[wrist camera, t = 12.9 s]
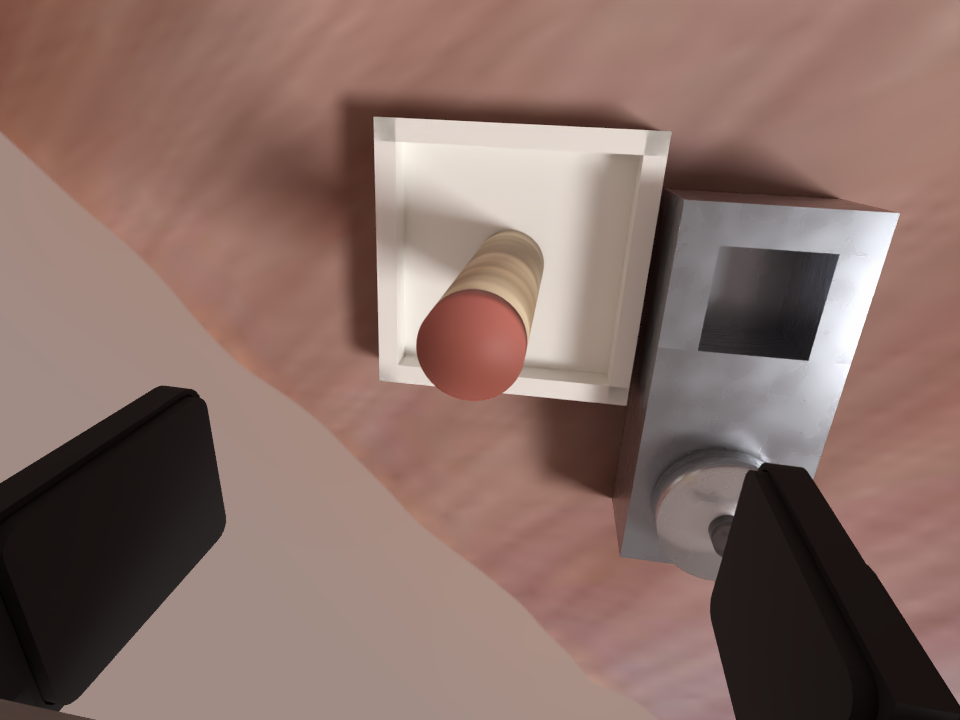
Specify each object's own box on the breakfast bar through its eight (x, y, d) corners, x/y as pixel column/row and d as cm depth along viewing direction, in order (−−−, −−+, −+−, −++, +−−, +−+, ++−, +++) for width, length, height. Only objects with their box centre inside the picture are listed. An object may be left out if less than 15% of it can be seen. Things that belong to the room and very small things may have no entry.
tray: (389, 117, 27) (373, 116, 25) (662, 131, 26) (671, 131, 24) (392, 362, 32) (379, 380, 30) (621, 385, 31) (626, 405, 29)
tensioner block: (663, 188, 27) (701, 209, 20) (840, 198, 26) (949, 225, 19) (612, 499, 34) (625, 601, 26) (750, 515, 33) (804, 625, 26)
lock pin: (478, 227, 28) (415, 293, 17) (546, 232, 27) (528, 302, 16) (475, 294, 29) (416, 395, 18) (541, 299, 29) (521, 406, 18)
